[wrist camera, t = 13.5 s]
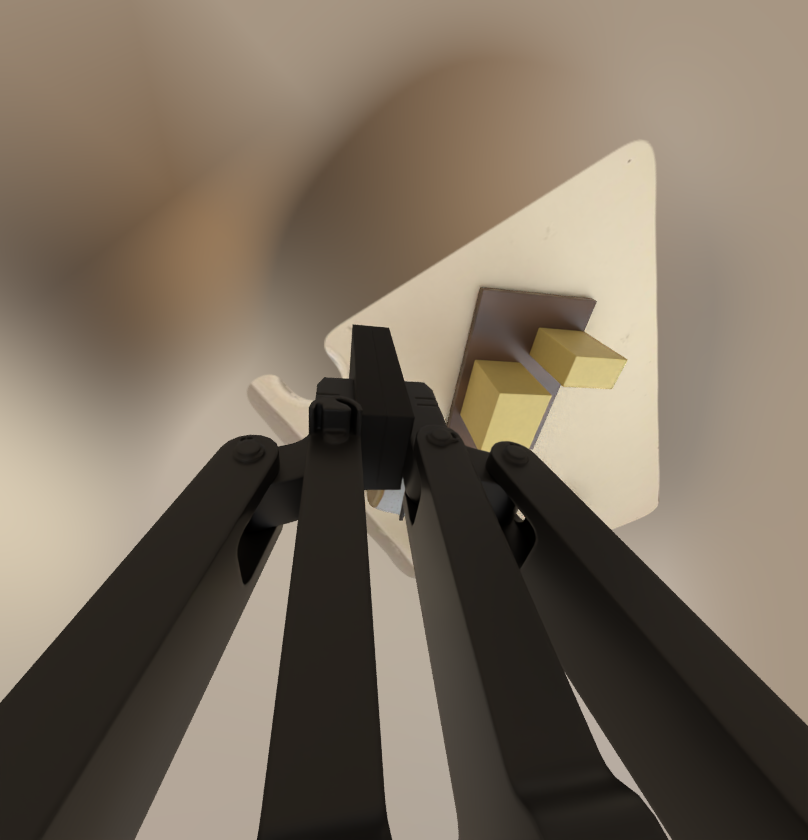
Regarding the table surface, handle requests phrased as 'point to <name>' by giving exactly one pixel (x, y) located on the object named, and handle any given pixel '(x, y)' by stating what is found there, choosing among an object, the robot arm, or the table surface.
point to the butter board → (514, 339)
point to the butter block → (503, 404)
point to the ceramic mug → (387, 499)
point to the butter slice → (576, 358)
